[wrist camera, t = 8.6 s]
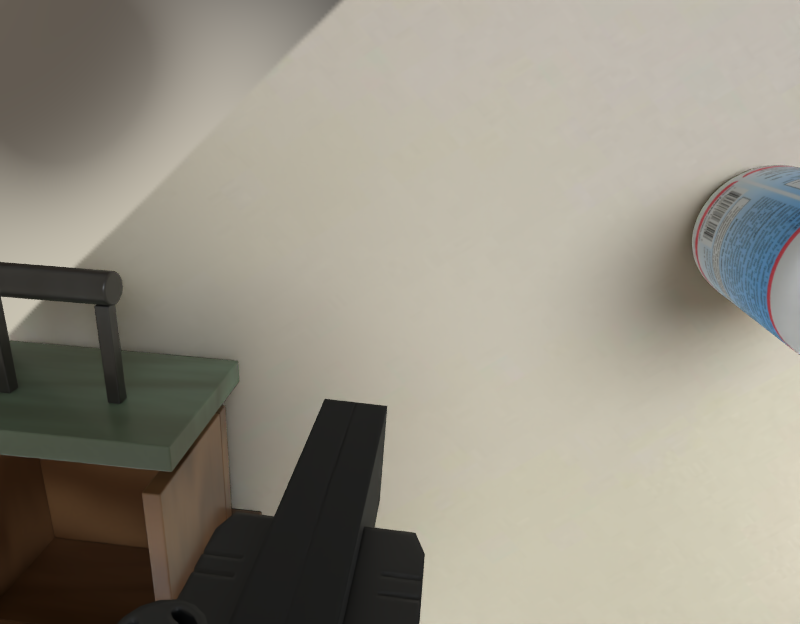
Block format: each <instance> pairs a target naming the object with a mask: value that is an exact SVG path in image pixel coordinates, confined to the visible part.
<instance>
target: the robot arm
mask: <svg viewBox="0 0 800 624" xmlns="http://www.w3.org/2000/svg"><path fill="white" fill-rule="evenodd" d="M386 414H387V406H382V405H373V404H365V403H356V402H347V401H339V400H330V399H325V400H324V402H323V404H322V407H321V409H320V411H319V414H318V416H317V418H316V421H315V423H314V425H313V428H312V430H311V432H310V435H309V437H308V439H307V442H306V444H305V446H304V448H303V451H302V453H301V455H300V458H299V460H298V462H297V465H296V467H295V469H294V472H293V474H292V476H291V479H290V481H289V483H288V486H287V488H286V490H285V493H284V495H283V497H282V500H281V502H280V504H279V507H278V509H277V511H276V514H275V516H266V515H258V514H250V513H243V512H235V513H234V514H233V515H231V516H230V517H229V518H228V519H227V520H225V521H224V522H223V523H222V524H221V525H219V526H218V527H217V528H216V529H215V531H214V533H213V534H212V536H211V538H210V540H209V542H208V544H207V545H206V547H205V549H204V553H203V554H201V556H200V558H199V560H198V562H197V564H196V565H195V567H194V571H193V572H192V573H191V574H190V576H189V578H188V580H187V582H186V584H185V585H184V587H183V589H182V591H181V593H180V594H179V596H178V598H177V599H172V600H158V601H155V602H152V603H148V604H145V605H142V606H140V607H138V608H137V609H135V610H134V611H132V612H130V613H129V614H127V615H126V616H124V617H123V618H122V619H121V620H120V621H119V622H118V623H117V624H419V621H420V608H421V595H422V581H423V569H424V556H425V554H424V552H423V549H422V547H421V545H420V542H419V540H418V538H417V536H416V533H412V532H404V531H396V530H388V529H381V528H374V527H375V522H376V517H377V511H378V506H379V501H380V490H381V477H382V465H383V452H384V440H385V427H386Z"/></svg>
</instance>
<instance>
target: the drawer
mask: <svg viewBox="0 0 800 624" xmlns="http://www.w3.org/2000/svg"><path fill="white" fill-rule="evenodd" d="M122 289H123V285H122V279H121V277H120V275H119V274H118V273H117V272H115V271H105V270H93V269H80V268H66V267H55V266H43V265H29V264H17V263H4V262H0V619H5V620H13V621H21V622H29V623H37V624H117V623H118V622H119V621H120V620H121V619H122V618H123V617H124V616H126V615H127V614H129V613H130V612H132V611H134V610H135V609H137V608H138V607H140V606H142V605H145V604H148V603H152V602H155V601H158V600H172V599H177V598H178V596H179V594H180V593H181V591H182V589H183V587H184V585H185V584H186V582H187V580H188V578H189V576H190V574H191V573H192V572H193V571H194V567H195V565H196V564H197V562H198V560H199V558H200V556H201V554H203V553H204V549H205V547H206V545H207V544H208V542H209V540H210V538H211V536H212V534H213V533H214V531H215V529H216V528H217V527H218V526H219V525H221V524H222V523H223V522H224V521H225V520H227V519H228V518H229V517H230V516H231V515H232V509H231V492H230V475H229V459H228V442H227V426H226V409H225V406H223V405H222V404H223V402H224V401H225V400H226V398H227V397H228V396H229V394H230V393H231V392H232V390H233V389H234V388H235V386H236V385H237V384H238V382H239V365H238V361H234V360H223V359H212V358H200V357H189V356H178V355H167V354H155V353H144V352H133V351H122V350H121V347H120V339H119V331H118V324H117V316H116V308H115V304H116V303H117V302H118V301H119V300H120V298H121V295H122ZM1 296H2V297H13V298H25V299H37V300H49V301H61V302H73V303H85V304H97V305H95V307H94V308H95V315H96V322H97V329H98V336H99V343H100V349H99V348H88V347H77V346H65V345H54V344H43V343H32V342H20V341H9V336H8V331H7V326H6V321H5V316H4V311H3V306H2V301H1Z"/></svg>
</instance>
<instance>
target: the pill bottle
mask: <svg viewBox="0 0 800 624" xmlns="http://www.w3.org/2000/svg"><path fill="white" fill-rule="evenodd" d="M692 250H693V256H694V259H695V262H696V265H697V267H698V269H699V271H700V272H701V274H702V275H703V277H704V278H705V279H706V280H707V281H708V283H709V284H710V285H711V286H712V287H714V288H715V289H716V290H717V291H718V292H719V293H720V294H722V295H723V296H724V297H726V298H727V299H728V300H730V301H731V302H732V303H733V304H735V305H736V306H737V307H739V308H740V309H741V310H742V311H744V312H745V313H746V314H748V315H749V316H750V317H751V318H753V319H754V320H755V321H757V322H758V323H759V324H760V325H762V326H763V327H764V328H766V329H767V330H768V331H769V332H771V333H772V334H773V335H775V336H776V337H777V338H778V339H780V340H781V341H782V342H784V343H785V344H786V345H787V346H789V347H790V348H791V349H792V350H794V351H795V352H796V353H798V354H799V355H800V168H798V167H792V166H784V165H773V166H765V167H759V168H756V169H752V170H749V171H746V172H744V173H742V174H740V175H738V176H736V177H734V178H732V179H731V180H729V181H728V182H726V183H725V184H724V185H722V186H721V187H720V188H719V189H718V190H717V191H716V192H715V193H714V194H713V195H712V196H711V197H710V198H709V200H708V201H707V202H706V204H705V205H704V206H703V208H702V210H701V211H700V213H699V216H698V218H697V220H696V223H695V226H694V230H693V236H692Z"/></svg>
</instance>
